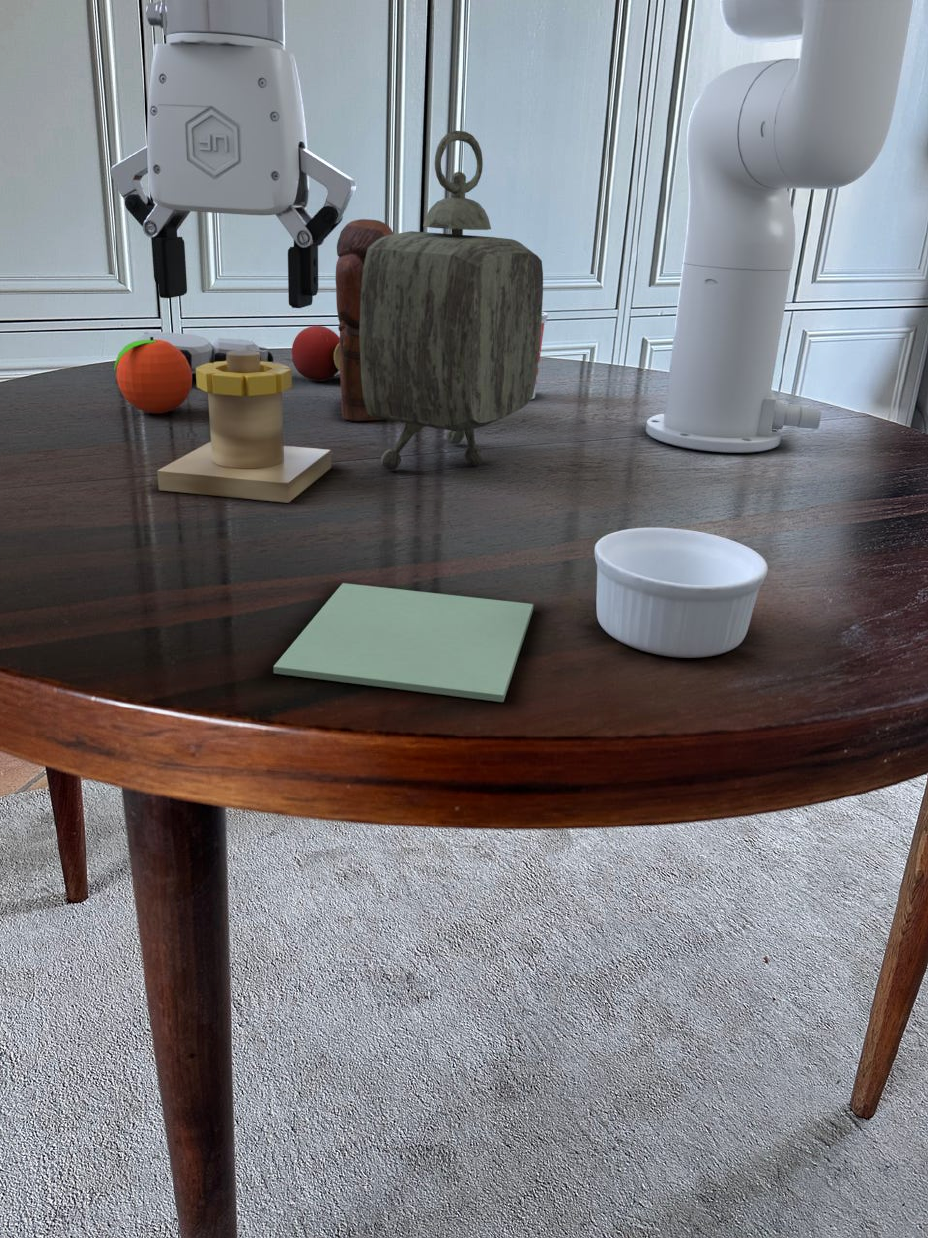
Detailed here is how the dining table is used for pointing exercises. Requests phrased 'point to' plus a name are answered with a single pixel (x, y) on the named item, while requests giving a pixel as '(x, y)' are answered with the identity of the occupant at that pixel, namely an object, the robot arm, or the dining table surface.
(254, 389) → the ring
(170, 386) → the clementine
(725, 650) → the ramekin
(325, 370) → the kendama
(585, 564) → the dining table surface
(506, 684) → the mat
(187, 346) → the robot toy
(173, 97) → the robot arm
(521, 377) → the tabletop clock
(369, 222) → the wooden figurine
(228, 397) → the stand
